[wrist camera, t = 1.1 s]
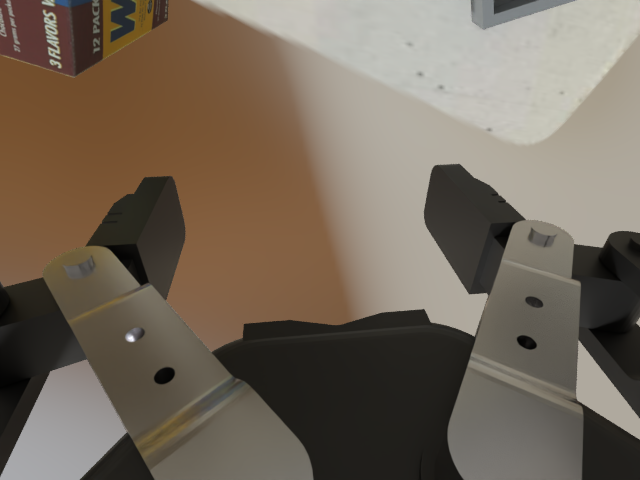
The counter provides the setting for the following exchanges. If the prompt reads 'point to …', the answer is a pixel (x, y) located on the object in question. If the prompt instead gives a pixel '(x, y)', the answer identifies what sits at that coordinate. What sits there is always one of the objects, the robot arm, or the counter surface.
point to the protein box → (74, 30)
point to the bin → (507, 10)
